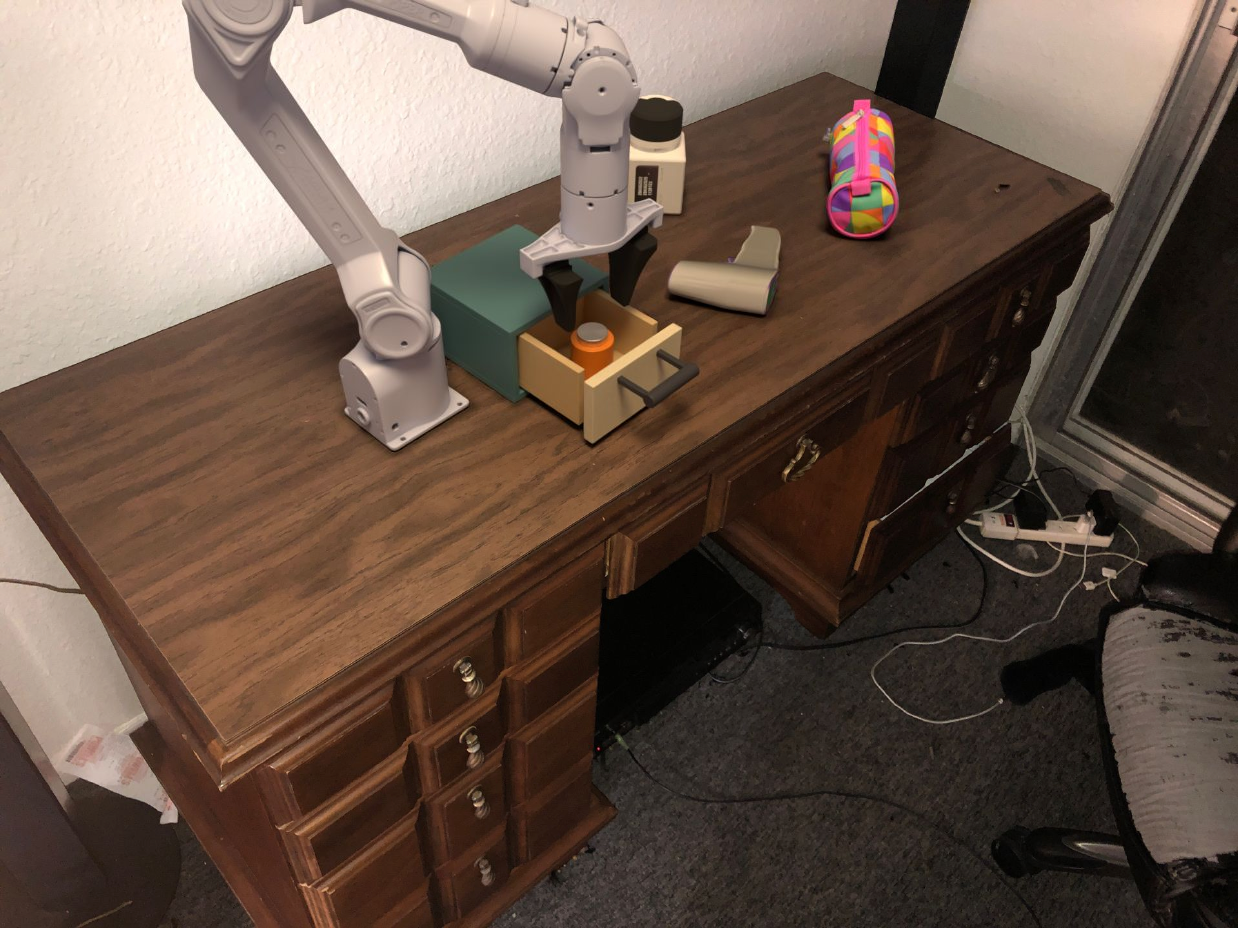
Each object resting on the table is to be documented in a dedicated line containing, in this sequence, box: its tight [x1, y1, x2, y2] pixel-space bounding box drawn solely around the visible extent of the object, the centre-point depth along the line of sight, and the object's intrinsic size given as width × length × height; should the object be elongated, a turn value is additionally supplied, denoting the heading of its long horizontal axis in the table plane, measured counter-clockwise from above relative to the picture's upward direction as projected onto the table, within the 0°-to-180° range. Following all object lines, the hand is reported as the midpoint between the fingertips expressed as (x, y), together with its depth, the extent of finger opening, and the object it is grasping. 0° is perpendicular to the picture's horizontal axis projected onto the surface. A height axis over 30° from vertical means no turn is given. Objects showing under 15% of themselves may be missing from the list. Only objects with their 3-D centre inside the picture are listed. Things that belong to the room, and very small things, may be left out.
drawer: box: [516, 288, 701, 444], centre depth 92 cm, size 17×12×7 cm
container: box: [628, 94, 687, 216], centre depth 119 cm, size 8×8×13 cm
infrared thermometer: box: [666, 225, 782, 315], centre depth 110 cm, size 5×12×15 cm
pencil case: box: [821, 99, 900, 240], centre depth 121 cm, size 22×9×9 cm, turn 172°
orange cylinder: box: [571, 322, 614, 381], centre depth 93 cm, size 4×4×6 cm
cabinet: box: [430, 223, 610, 404], centre depth 98 cm, size 14×14×9 cm
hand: (592, 313), depth 89 cm, fingers open, 6 cm apart
